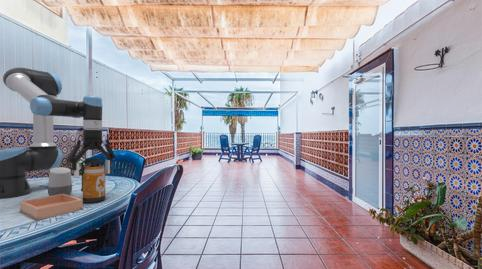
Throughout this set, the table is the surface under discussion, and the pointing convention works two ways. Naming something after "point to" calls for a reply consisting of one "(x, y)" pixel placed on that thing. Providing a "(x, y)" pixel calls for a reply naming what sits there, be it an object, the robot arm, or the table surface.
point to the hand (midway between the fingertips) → (92, 175)
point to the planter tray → (50, 206)
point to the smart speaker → (59, 181)
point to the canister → (93, 180)
